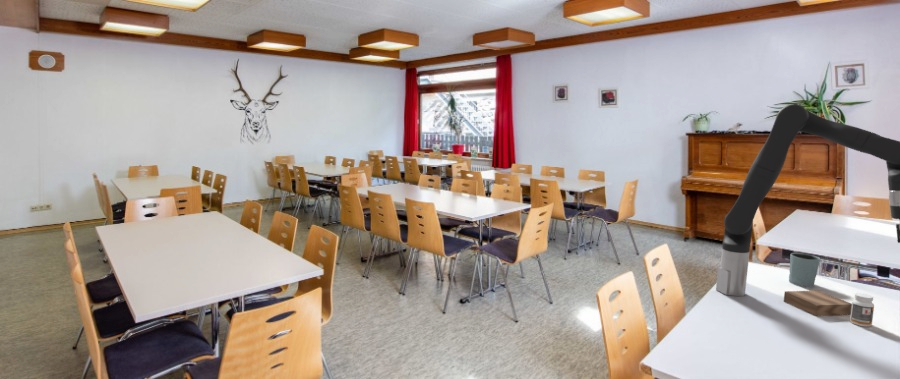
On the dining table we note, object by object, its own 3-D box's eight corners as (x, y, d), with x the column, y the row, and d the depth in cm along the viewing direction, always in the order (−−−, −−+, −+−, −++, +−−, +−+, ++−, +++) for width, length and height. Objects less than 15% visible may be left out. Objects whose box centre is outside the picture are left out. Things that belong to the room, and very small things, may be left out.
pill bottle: (875, 328, 159) (879, 299, 157) (855, 326, 160) (859, 297, 158) (864, 321, 164) (868, 293, 163) (845, 319, 165) (849, 291, 164)
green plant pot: (790, 278, 210) (793, 251, 208) (818, 283, 203) (822, 256, 201) (784, 283, 203) (788, 255, 201) (814, 289, 196) (818, 260, 194)
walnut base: (815, 316, 168) (816, 305, 167) (783, 301, 181) (784, 291, 181) (851, 315, 169) (853, 304, 169) (817, 300, 183) (818, 290, 182)
